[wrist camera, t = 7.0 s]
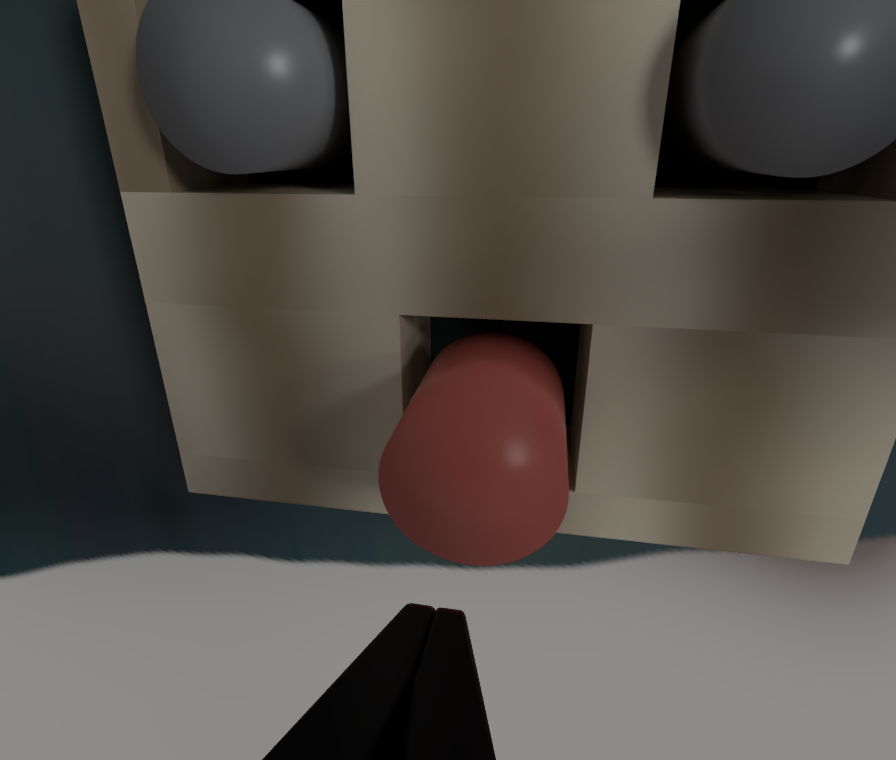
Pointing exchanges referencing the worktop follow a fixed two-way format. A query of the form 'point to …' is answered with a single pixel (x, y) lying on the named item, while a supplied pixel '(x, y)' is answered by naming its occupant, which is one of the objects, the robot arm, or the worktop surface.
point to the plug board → (521, 280)
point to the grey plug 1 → (245, 83)
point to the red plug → (480, 453)
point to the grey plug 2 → (786, 86)
